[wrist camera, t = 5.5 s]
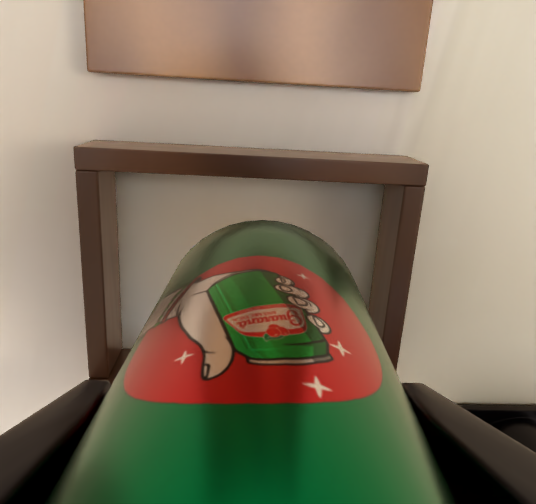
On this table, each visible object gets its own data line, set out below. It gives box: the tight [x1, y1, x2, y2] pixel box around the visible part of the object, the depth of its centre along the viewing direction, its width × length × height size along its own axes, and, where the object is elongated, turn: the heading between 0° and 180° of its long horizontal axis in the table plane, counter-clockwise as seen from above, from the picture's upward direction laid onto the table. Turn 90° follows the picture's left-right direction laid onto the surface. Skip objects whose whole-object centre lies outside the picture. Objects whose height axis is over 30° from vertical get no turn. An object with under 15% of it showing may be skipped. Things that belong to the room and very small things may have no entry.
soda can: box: [45, 220, 456, 504], centre depth 8 cm, size 5×5×12 cm
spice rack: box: [74, 140, 429, 385], centre depth 18 cm, size 13×10×7 cm
